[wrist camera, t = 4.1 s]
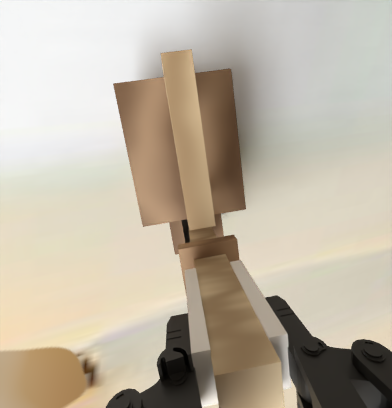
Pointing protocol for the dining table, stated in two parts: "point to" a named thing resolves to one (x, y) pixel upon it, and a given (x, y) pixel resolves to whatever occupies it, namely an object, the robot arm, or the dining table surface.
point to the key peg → (232, 326)
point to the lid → (183, 145)
